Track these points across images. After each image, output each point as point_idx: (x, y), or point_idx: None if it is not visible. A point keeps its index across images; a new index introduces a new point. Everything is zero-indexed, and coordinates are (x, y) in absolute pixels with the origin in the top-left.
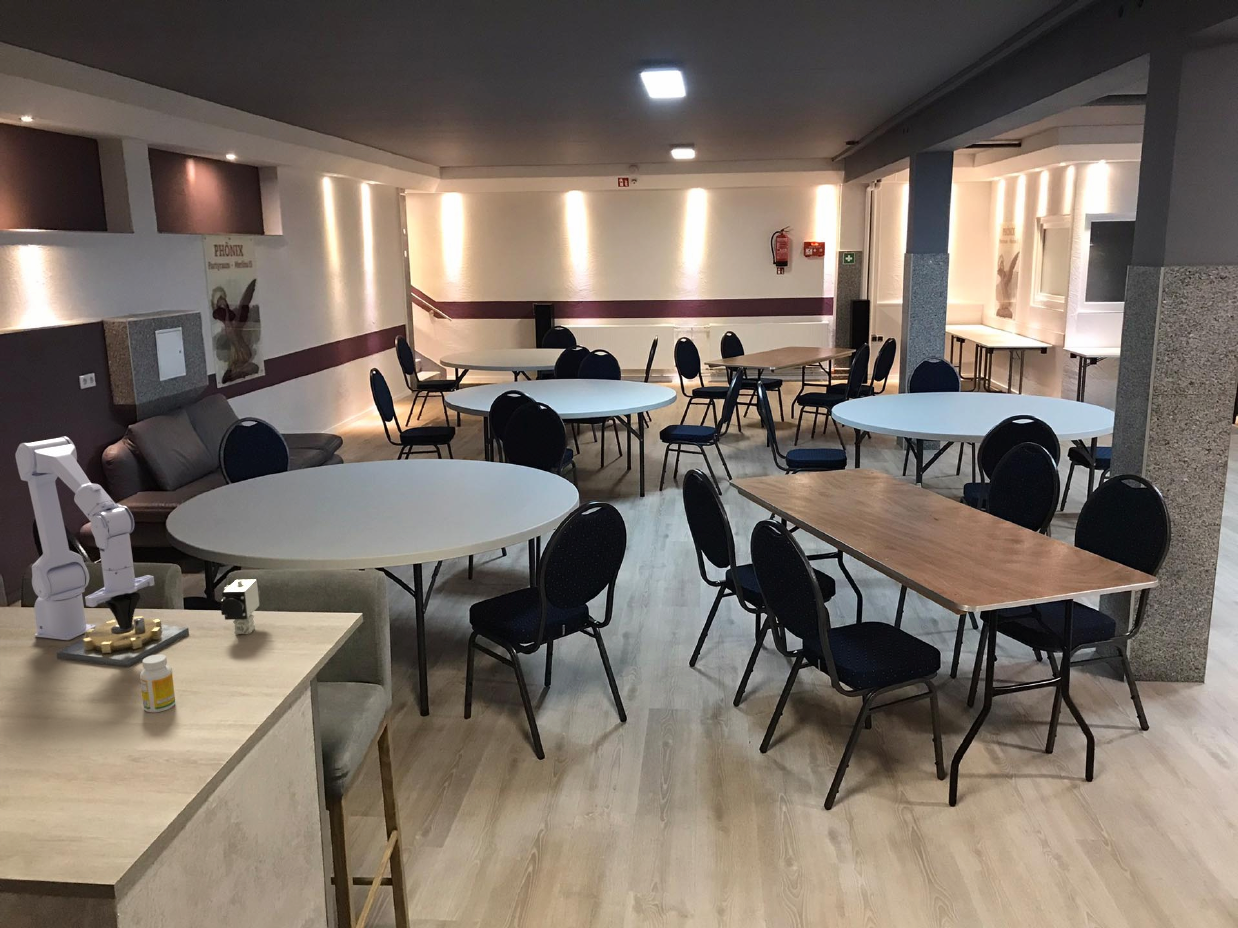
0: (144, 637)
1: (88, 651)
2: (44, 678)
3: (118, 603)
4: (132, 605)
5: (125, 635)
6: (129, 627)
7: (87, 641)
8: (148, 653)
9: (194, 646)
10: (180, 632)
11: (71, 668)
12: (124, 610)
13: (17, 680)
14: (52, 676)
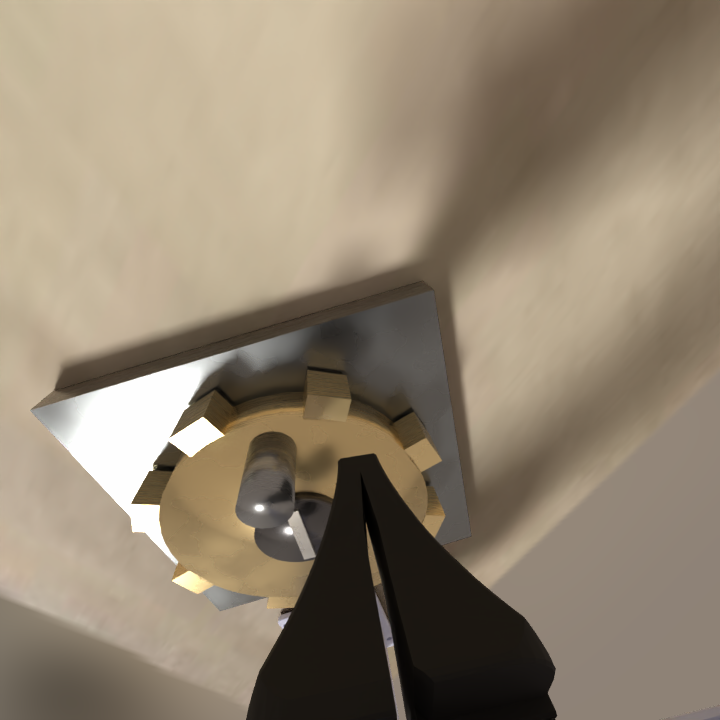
0: (274, 410)
1: (432, 479)
2: (579, 426)
3: (544, 650)
4: (352, 593)
5: (332, 468)
6: (354, 458)
7: (441, 513)
8: (303, 321)
9: (85, 225)
10: (88, 391)
11: (501, 433)
12: (428, 559)
13: (603, 465)
14: (563, 422)
